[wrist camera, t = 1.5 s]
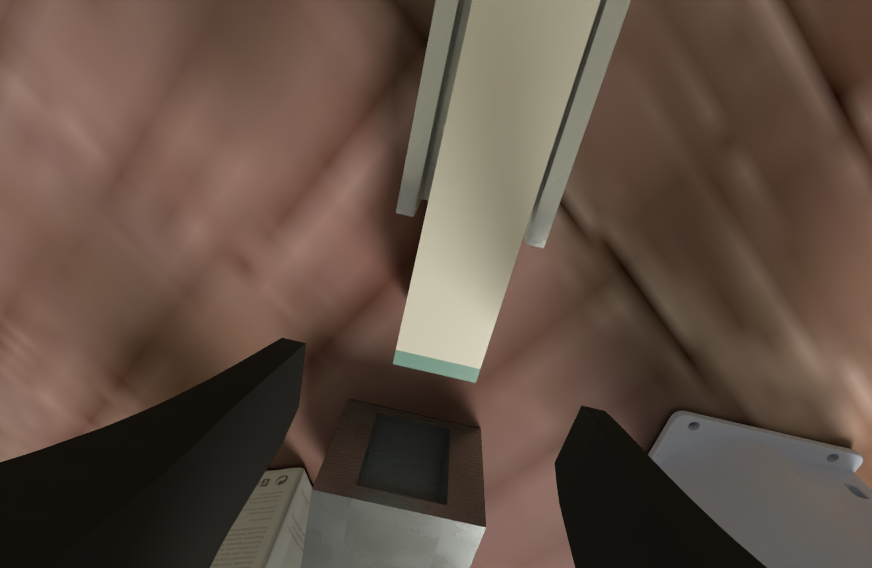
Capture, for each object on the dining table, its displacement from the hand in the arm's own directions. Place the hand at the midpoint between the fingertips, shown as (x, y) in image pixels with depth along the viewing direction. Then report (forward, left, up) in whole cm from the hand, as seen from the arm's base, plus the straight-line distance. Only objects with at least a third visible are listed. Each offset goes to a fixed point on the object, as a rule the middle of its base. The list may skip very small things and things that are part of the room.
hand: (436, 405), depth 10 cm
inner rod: (0, -6, -8) cm, 10 cm away
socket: (0, +10, -8) cm, 13 cm away
